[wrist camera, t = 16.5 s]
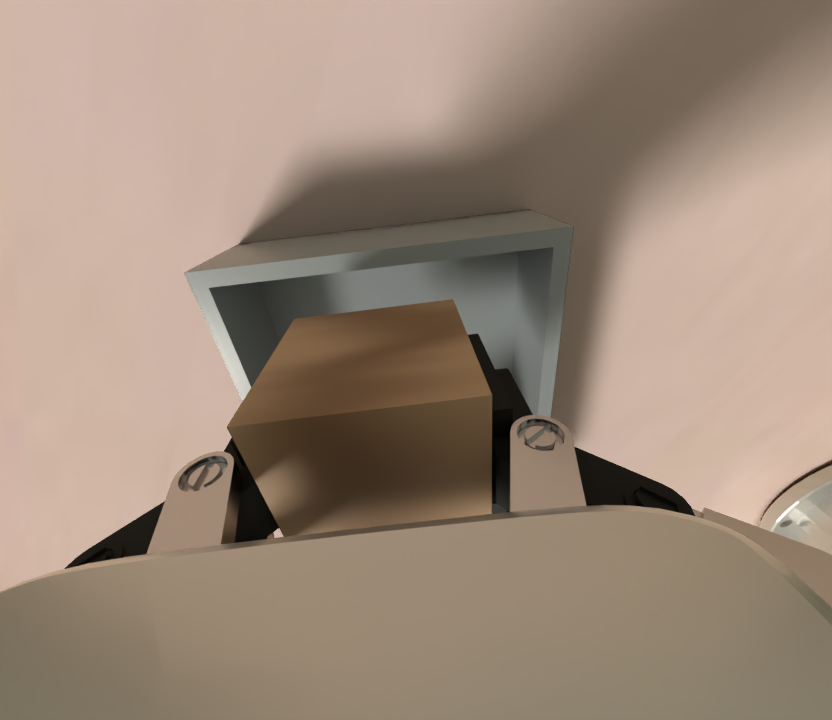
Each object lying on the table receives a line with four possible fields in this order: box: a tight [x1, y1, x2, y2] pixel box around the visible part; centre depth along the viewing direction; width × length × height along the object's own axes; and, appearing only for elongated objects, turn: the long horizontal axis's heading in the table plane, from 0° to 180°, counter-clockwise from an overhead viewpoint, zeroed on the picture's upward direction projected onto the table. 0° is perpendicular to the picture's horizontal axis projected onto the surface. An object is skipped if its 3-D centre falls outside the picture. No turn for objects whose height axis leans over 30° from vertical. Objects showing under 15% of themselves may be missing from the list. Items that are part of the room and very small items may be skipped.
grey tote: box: [184, 209, 574, 514], centre depth 18 cm, size 13×17×4 cm
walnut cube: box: [227, 299, 492, 537], centre depth 10 cm, size 5×5×5 cm
